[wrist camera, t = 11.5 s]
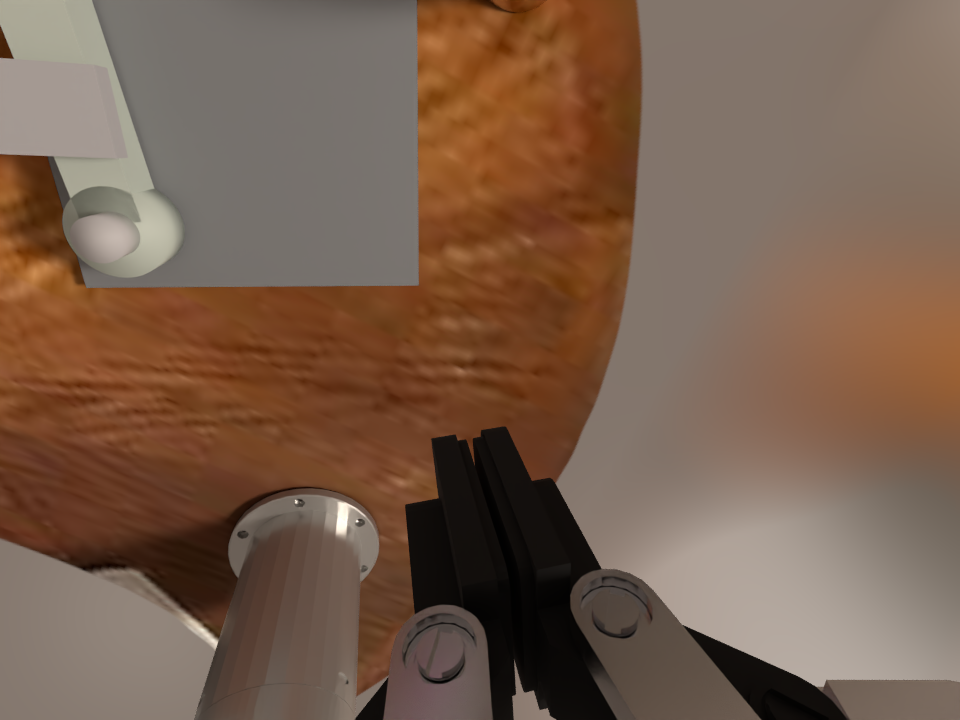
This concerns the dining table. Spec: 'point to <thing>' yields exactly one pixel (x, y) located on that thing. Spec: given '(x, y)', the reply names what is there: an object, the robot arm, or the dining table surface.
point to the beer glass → (517, 4)
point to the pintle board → (248, 134)
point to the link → (98, 181)
